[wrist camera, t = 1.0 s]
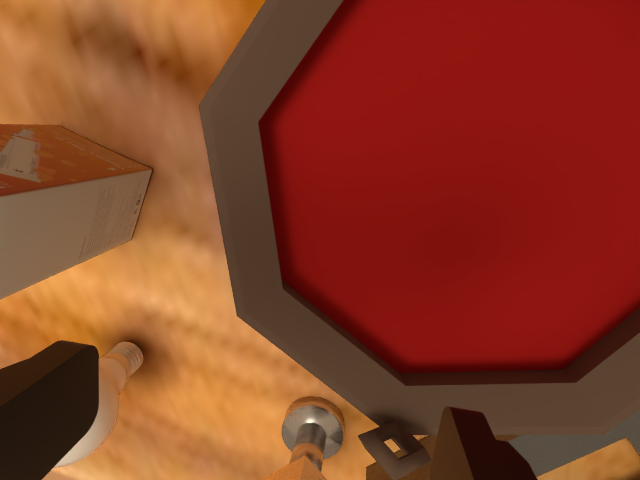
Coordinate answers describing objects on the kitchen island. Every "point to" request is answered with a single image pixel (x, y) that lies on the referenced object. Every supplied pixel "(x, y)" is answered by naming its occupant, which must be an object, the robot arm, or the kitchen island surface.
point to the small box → (61, 202)
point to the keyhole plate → (535, 449)
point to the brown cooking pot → (439, 207)
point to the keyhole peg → (310, 438)
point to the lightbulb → (107, 398)
